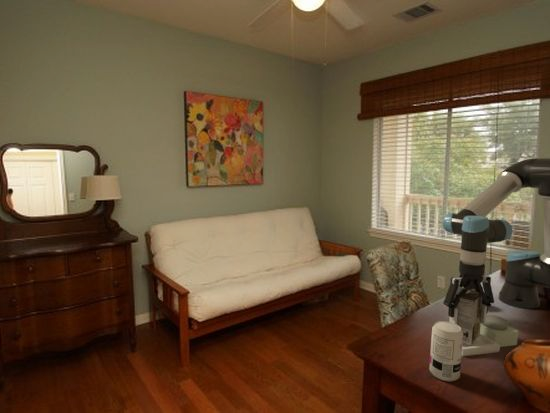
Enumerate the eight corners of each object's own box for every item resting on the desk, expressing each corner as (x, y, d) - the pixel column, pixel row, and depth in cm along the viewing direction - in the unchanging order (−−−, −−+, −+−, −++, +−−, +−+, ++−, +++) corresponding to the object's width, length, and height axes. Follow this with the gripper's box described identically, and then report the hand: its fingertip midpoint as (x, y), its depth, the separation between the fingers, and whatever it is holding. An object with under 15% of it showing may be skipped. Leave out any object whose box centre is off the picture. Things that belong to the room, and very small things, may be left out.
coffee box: (460, 329, 126) (463, 287, 124) (480, 336, 121) (484, 292, 119) (451, 338, 119) (454, 293, 117) (471, 345, 115) (475, 299, 113)
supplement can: (423, 366, 107) (426, 320, 105) (449, 365, 108) (453, 319, 106) (438, 383, 99) (442, 334, 97) (465, 382, 100) (470, 332, 98)
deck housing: (490, 328, 131) (491, 311, 130) (523, 348, 117) (525, 329, 116) (434, 335, 126) (435, 316, 125) (462, 356, 112) (464, 336, 112)
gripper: (492, 257, 123) (487, 316, 126) (434, 260, 118) (430, 322, 121) (511, 263, 115) (504, 325, 118) (449, 267, 111) (444, 332, 114)
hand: (467, 324), depth 120 cm, fingers closed on coffee box, 11 cm apart
